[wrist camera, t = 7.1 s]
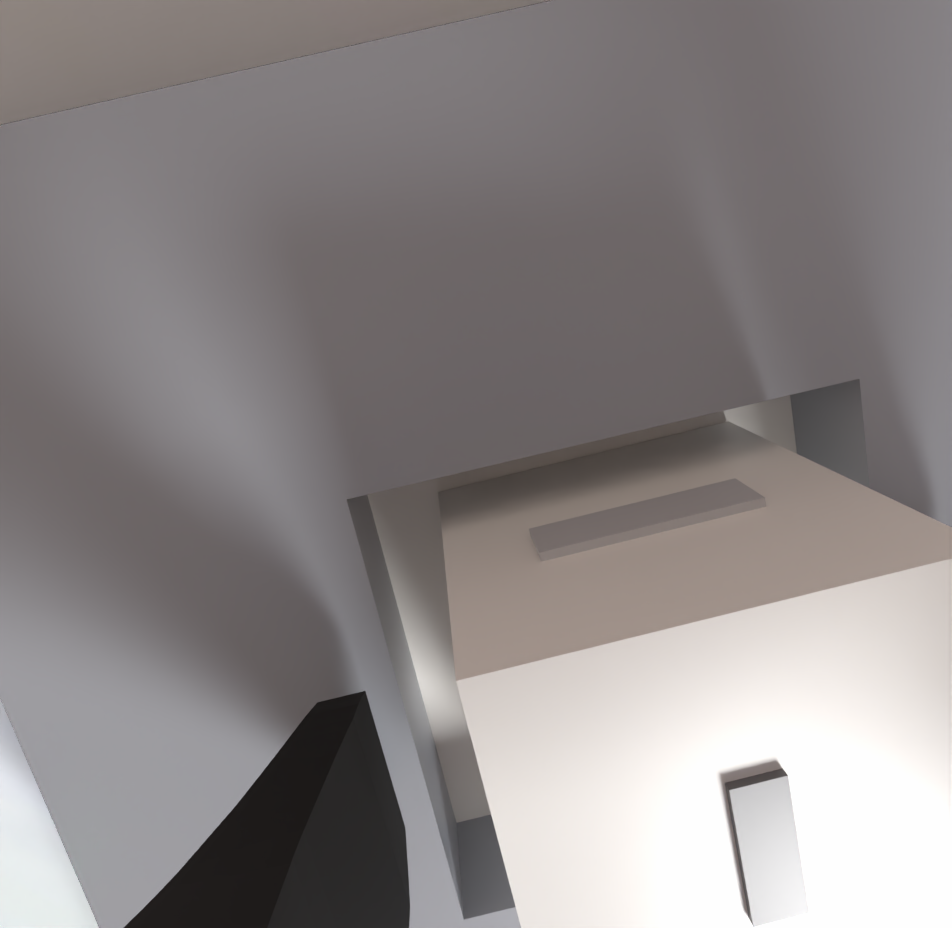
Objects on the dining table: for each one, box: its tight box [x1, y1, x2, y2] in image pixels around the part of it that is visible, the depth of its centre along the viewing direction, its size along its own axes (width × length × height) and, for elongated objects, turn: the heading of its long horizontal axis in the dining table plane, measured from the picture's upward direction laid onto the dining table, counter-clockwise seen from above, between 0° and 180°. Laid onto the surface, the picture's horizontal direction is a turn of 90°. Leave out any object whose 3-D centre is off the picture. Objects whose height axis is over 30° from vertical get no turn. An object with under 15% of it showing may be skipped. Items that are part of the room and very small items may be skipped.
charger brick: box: [438, 421, 952, 928], centre depth 9 cm, size 4×4×6 cm
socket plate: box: [0, 0, 952, 928], centre depth 12 cm, size 16×16×2 cm
